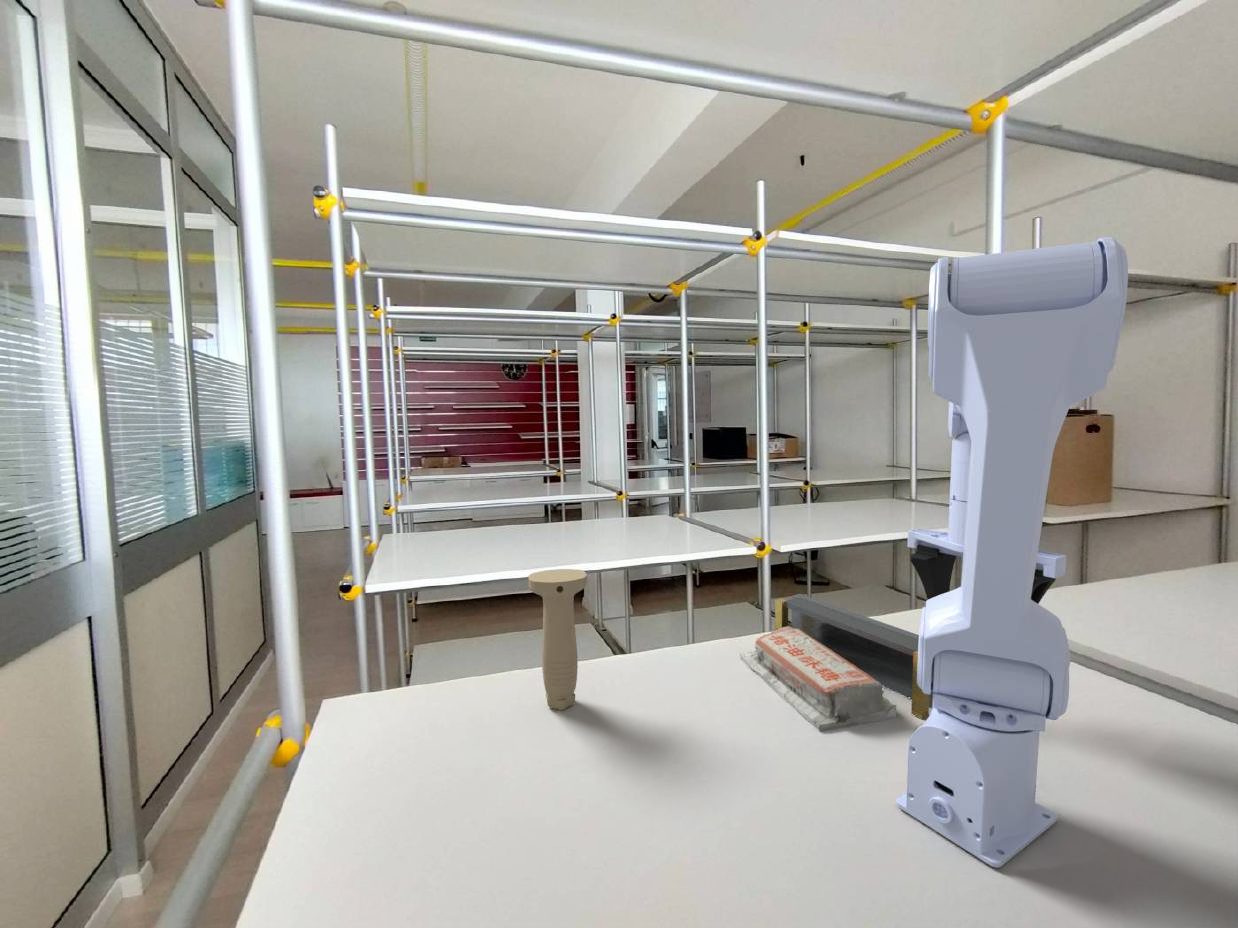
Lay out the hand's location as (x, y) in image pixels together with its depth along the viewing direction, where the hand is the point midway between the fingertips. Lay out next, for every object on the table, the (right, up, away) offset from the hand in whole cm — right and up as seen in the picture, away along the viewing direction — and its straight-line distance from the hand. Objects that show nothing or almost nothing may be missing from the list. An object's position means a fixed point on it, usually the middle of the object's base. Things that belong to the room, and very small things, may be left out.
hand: (975, 627), depth 60 cm
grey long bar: (-9, -9, +11) cm, 17 cm away
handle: (-44, -10, +5) cm, 46 cm away
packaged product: (-14, -10, +9) cm, 20 cm away
